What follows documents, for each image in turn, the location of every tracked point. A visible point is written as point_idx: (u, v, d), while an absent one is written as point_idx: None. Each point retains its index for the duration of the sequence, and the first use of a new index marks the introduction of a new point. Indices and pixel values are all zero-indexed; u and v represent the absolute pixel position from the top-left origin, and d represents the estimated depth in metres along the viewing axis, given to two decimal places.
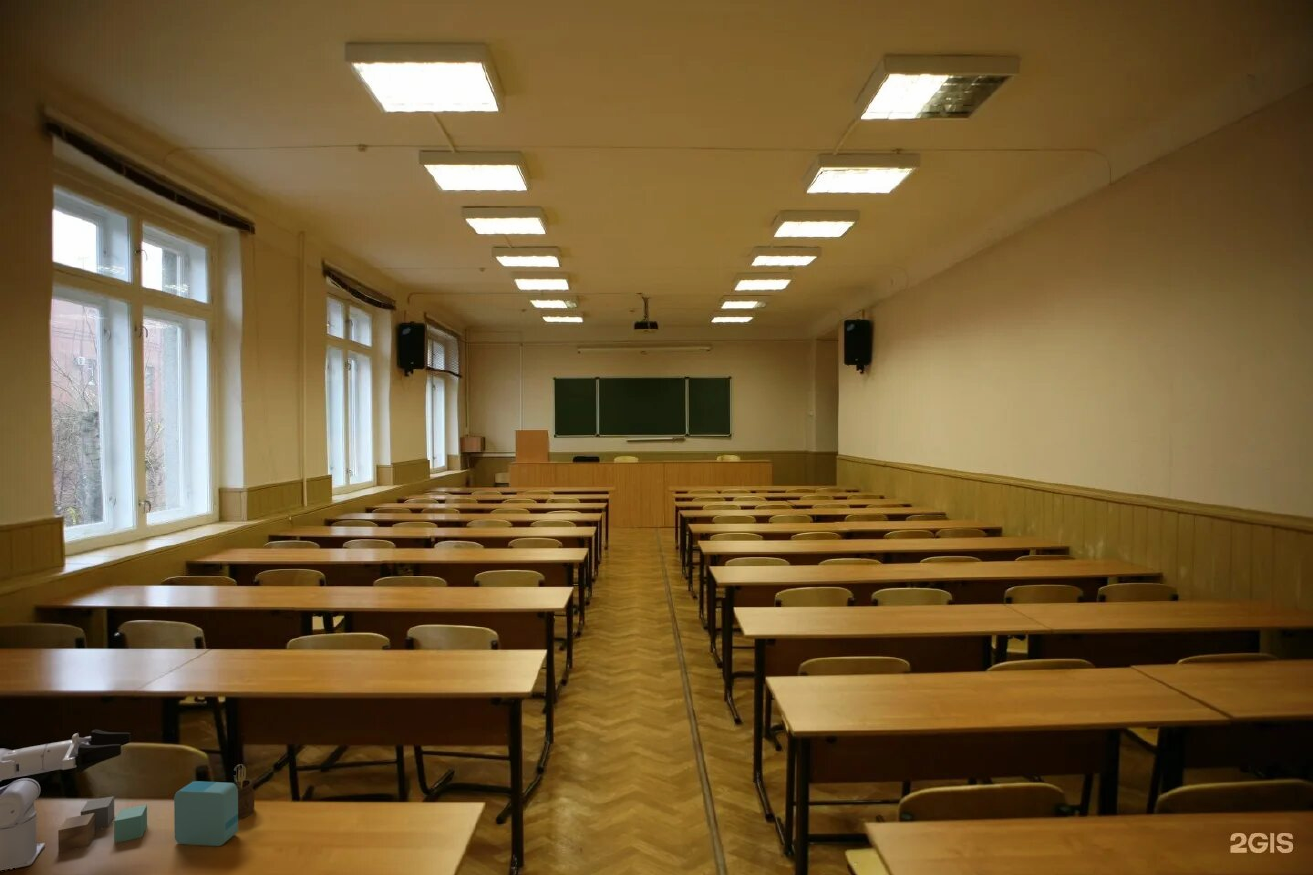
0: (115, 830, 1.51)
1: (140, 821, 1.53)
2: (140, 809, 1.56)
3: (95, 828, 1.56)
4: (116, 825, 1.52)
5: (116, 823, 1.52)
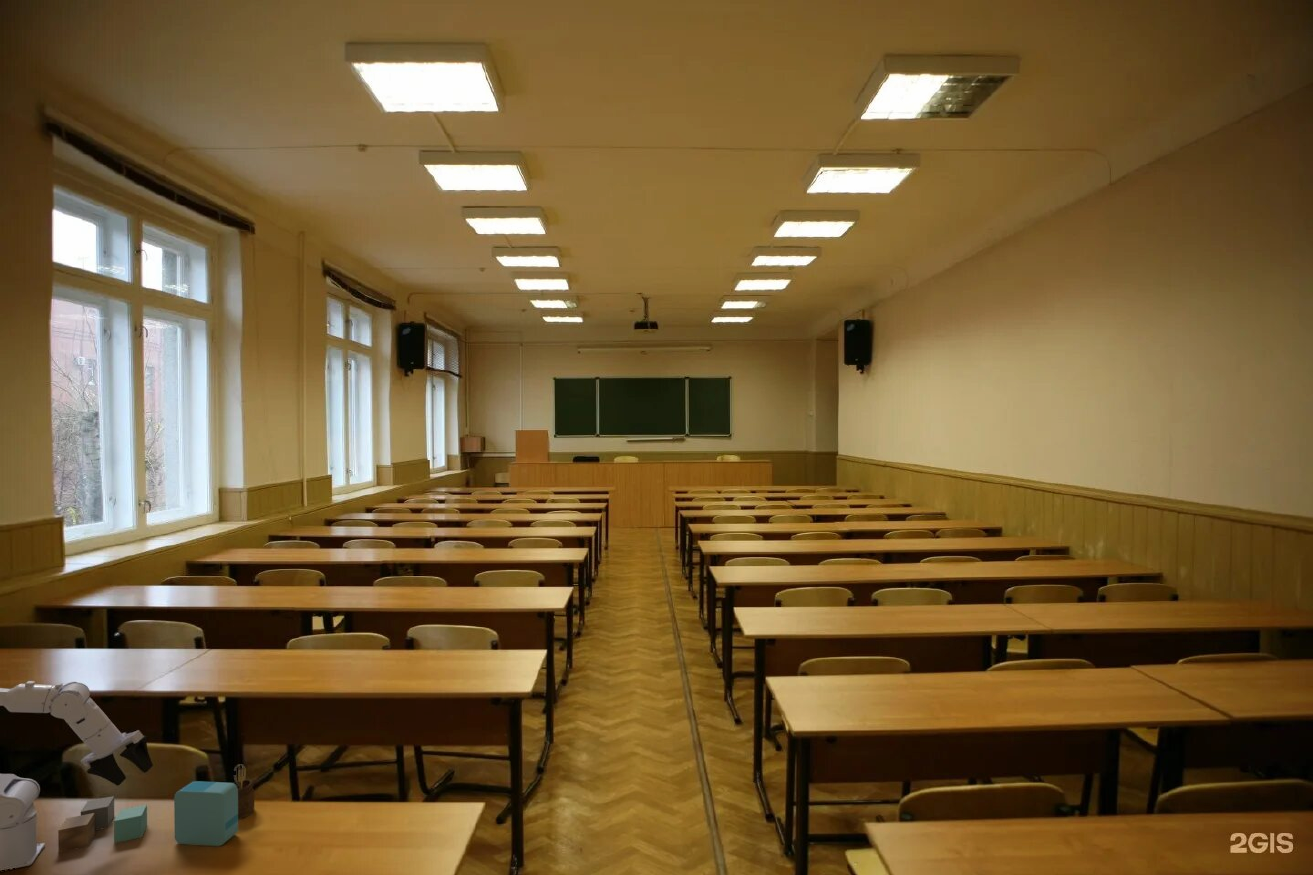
0: (115, 830, 1.51)
1: (140, 821, 1.53)
2: (140, 809, 1.56)
3: (95, 828, 1.56)
4: (116, 825, 1.52)
5: (116, 823, 1.52)
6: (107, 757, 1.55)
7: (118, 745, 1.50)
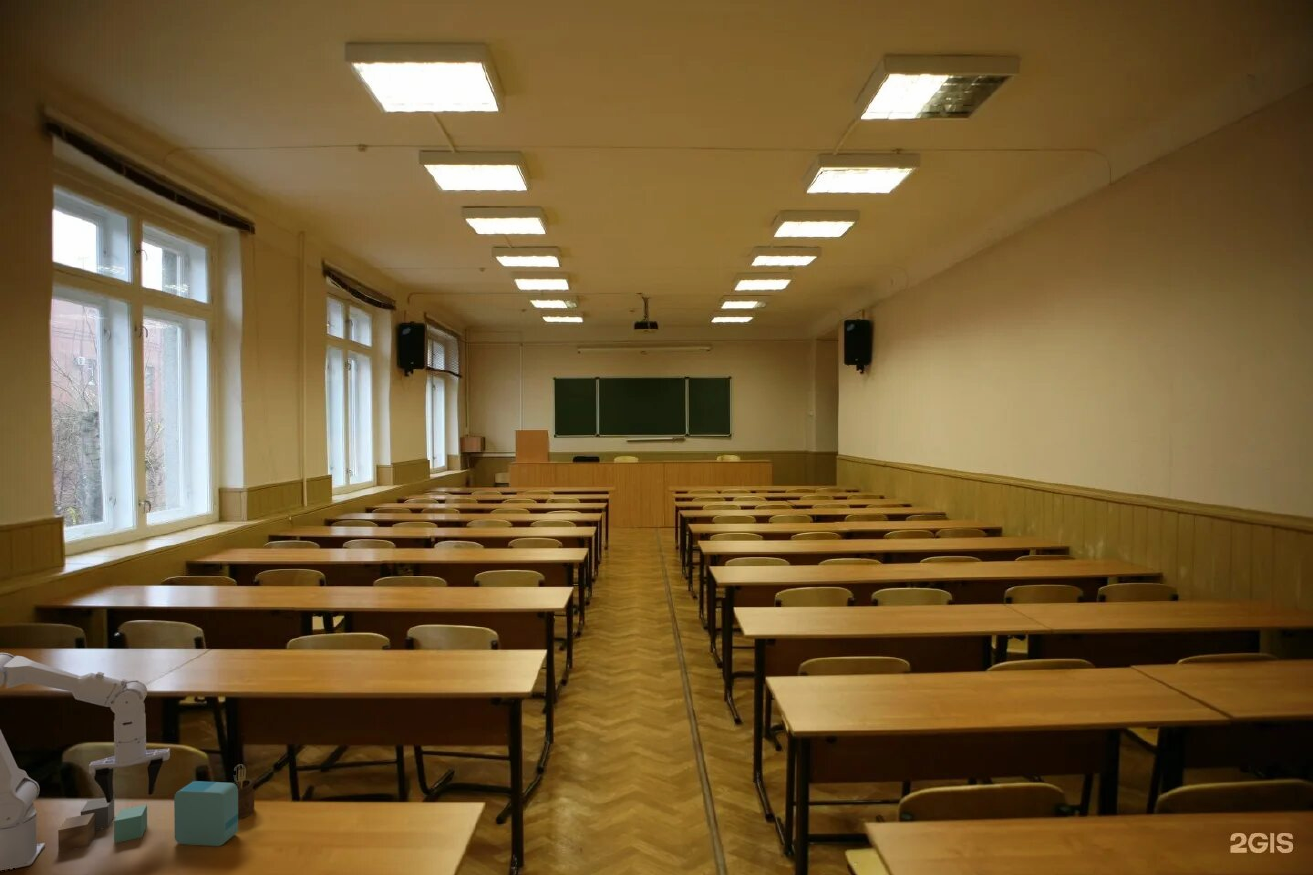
0: (115, 830, 1.51)
1: (140, 821, 1.53)
2: (140, 809, 1.56)
3: (95, 828, 1.56)
4: (116, 825, 1.52)
5: (116, 823, 1.52)
6: (111, 769, 1.54)
7: (149, 757, 1.55)
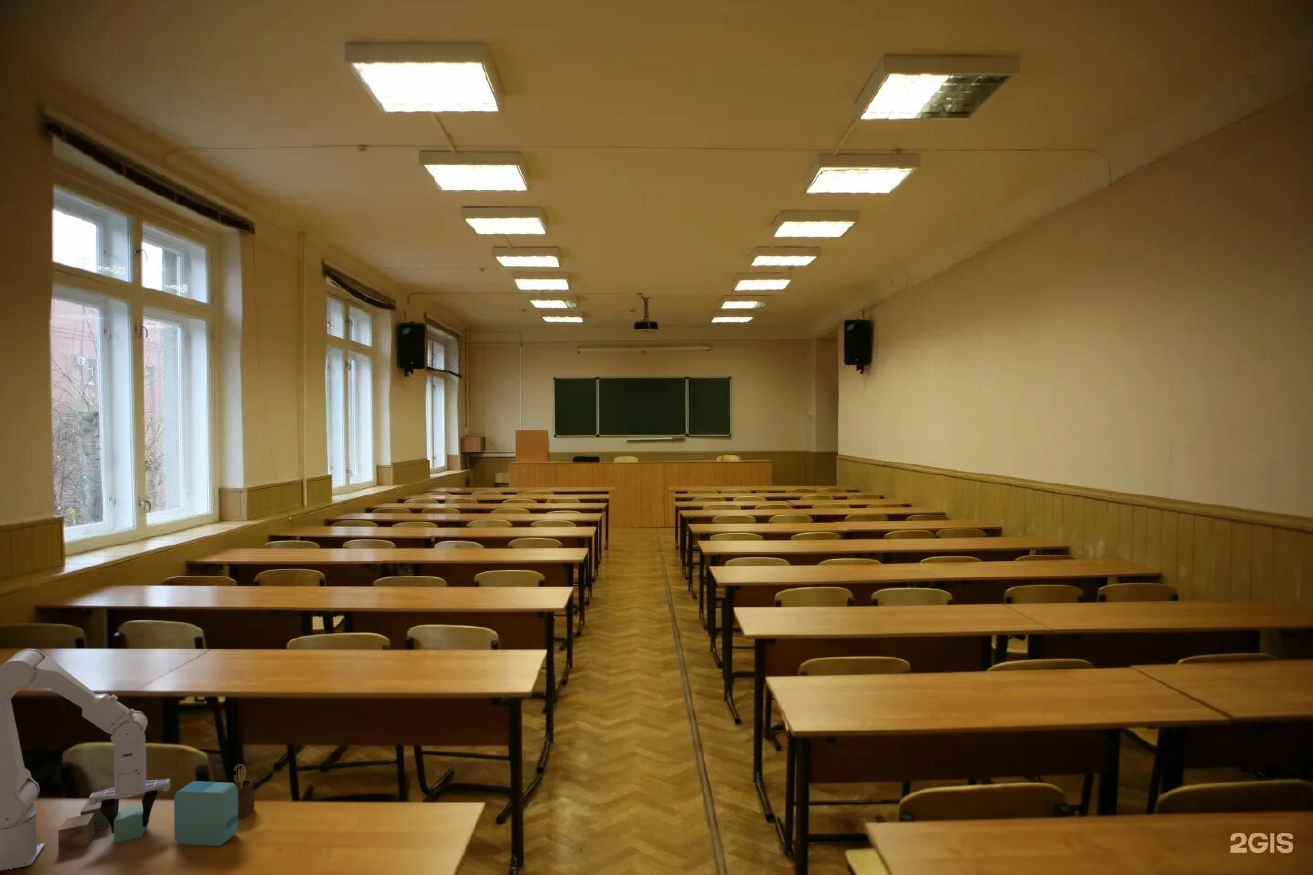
0: (115, 830, 1.51)
1: (140, 821, 1.53)
2: (140, 809, 1.56)
3: (95, 828, 1.56)
4: (116, 825, 1.51)
5: (116, 823, 1.52)
6: (117, 800, 1.54)
7: (149, 789, 1.55)
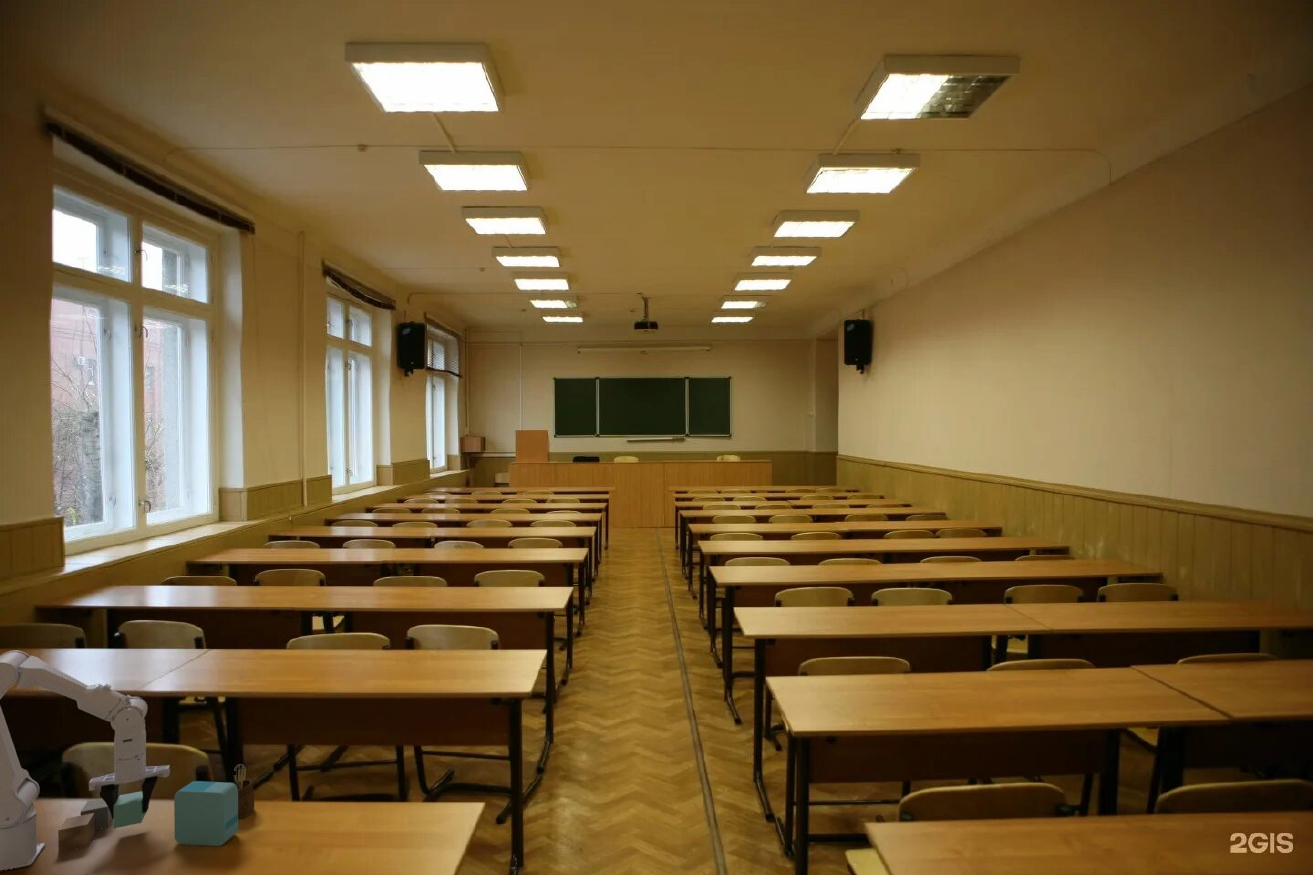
0: (115, 815, 1.51)
1: (140, 806, 1.53)
2: (139, 795, 1.56)
3: (95, 828, 1.56)
4: (115, 810, 1.51)
5: (116, 808, 1.51)
6: (116, 785, 1.54)
7: (149, 774, 1.55)
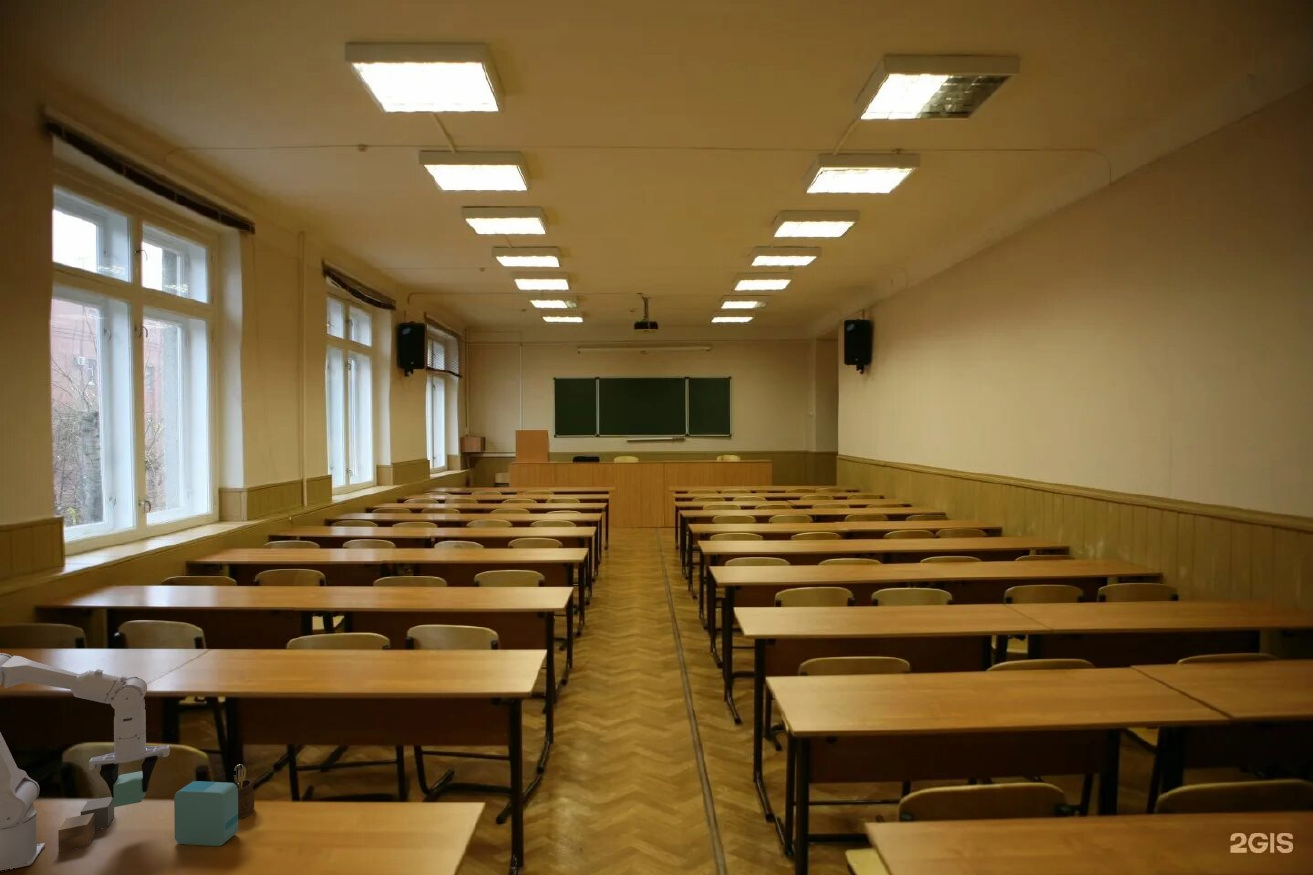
0: (115, 794, 1.51)
1: (140, 786, 1.53)
2: (139, 774, 1.56)
3: (95, 828, 1.56)
4: (115, 789, 1.51)
5: (116, 787, 1.51)
6: (116, 765, 1.54)
7: (149, 754, 1.55)
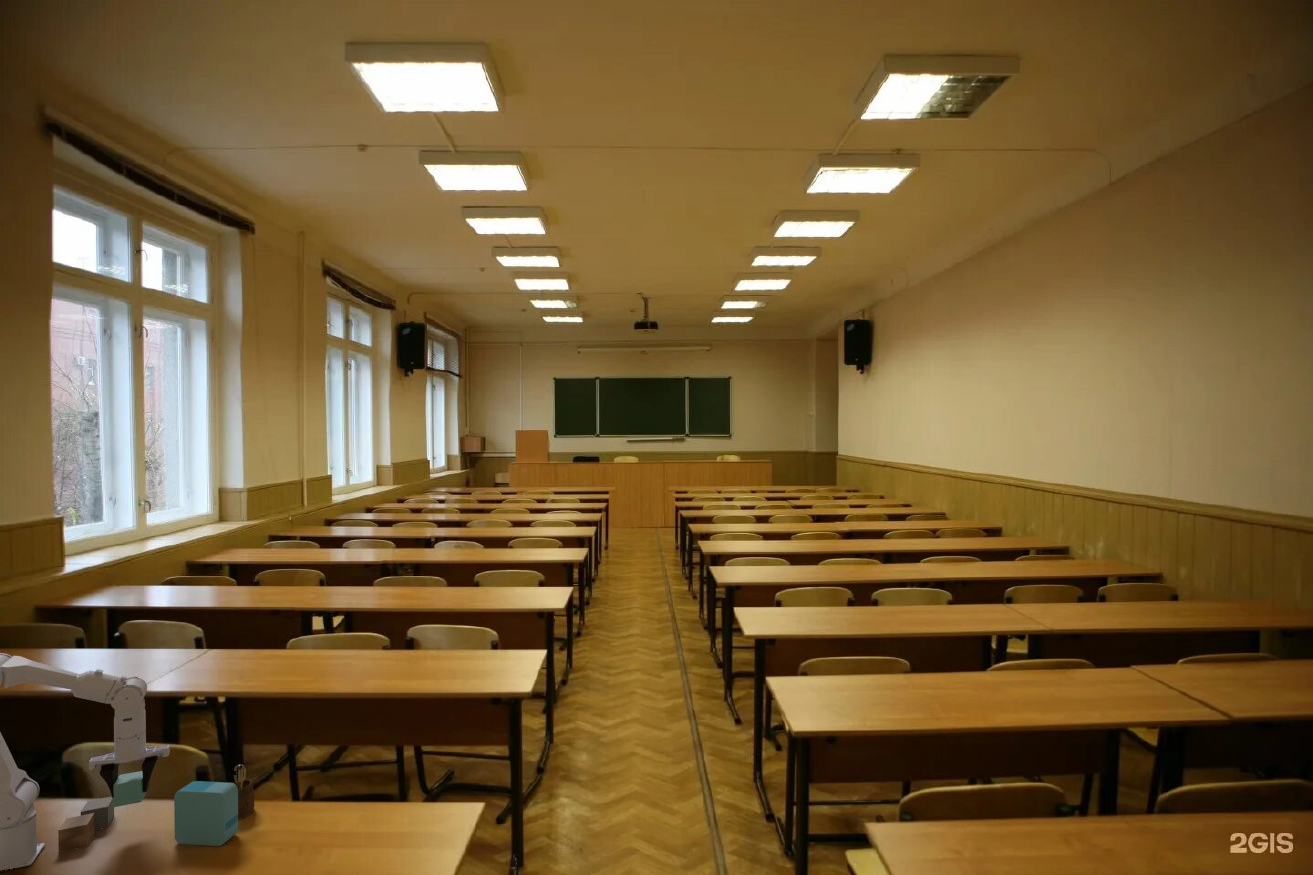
0: (115, 794, 1.51)
1: (140, 786, 1.53)
2: (139, 774, 1.56)
3: (95, 828, 1.56)
4: (115, 789, 1.51)
5: (116, 787, 1.51)
6: (116, 765, 1.54)
7: (149, 754, 1.55)
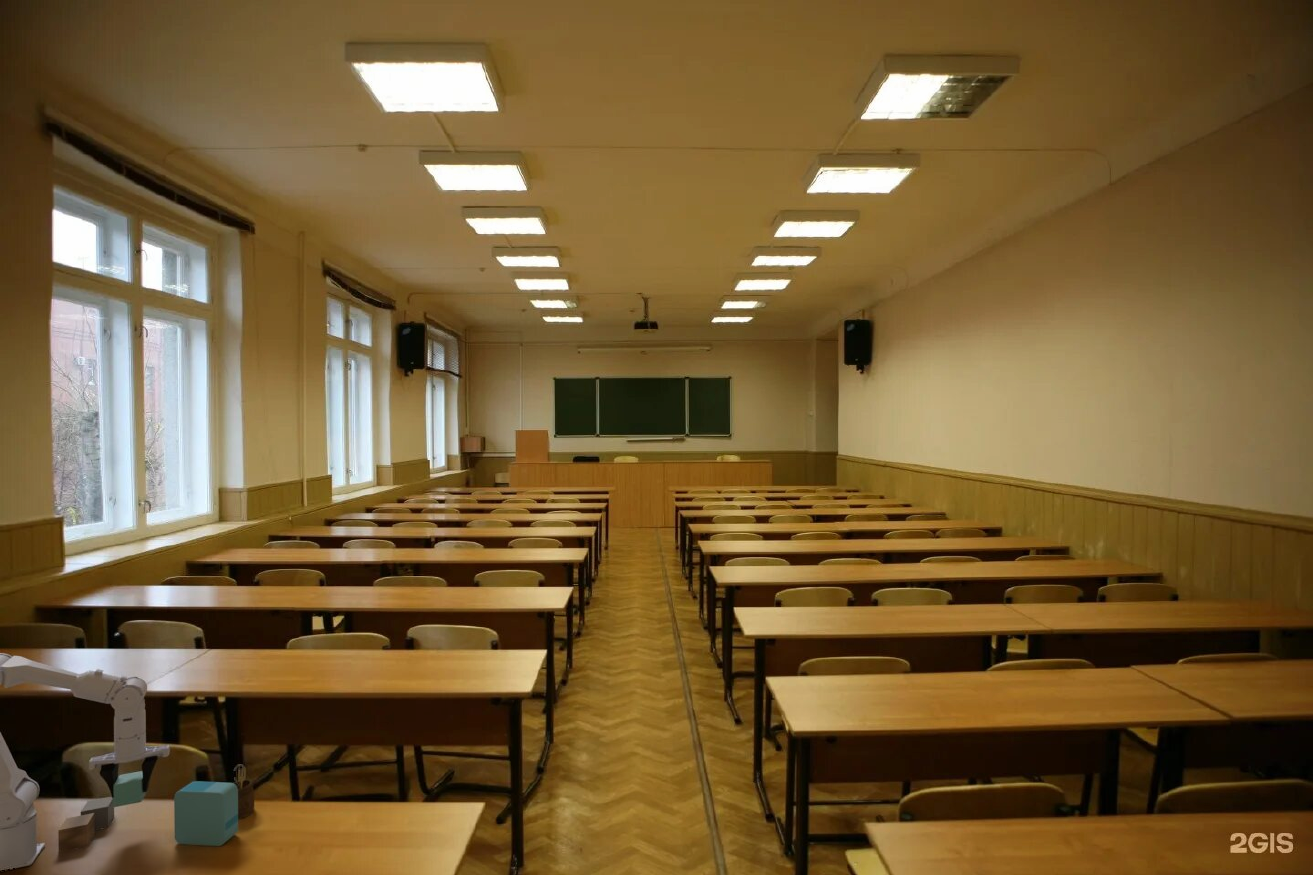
0: (115, 794, 1.51)
1: (140, 786, 1.53)
2: (139, 774, 1.56)
3: (95, 828, 1.56)
4: (115, 789, 1.51)
5: (116, 787, 1.51)
6: (116, 765, 1.54)
7: (149, 754, 1.55)
